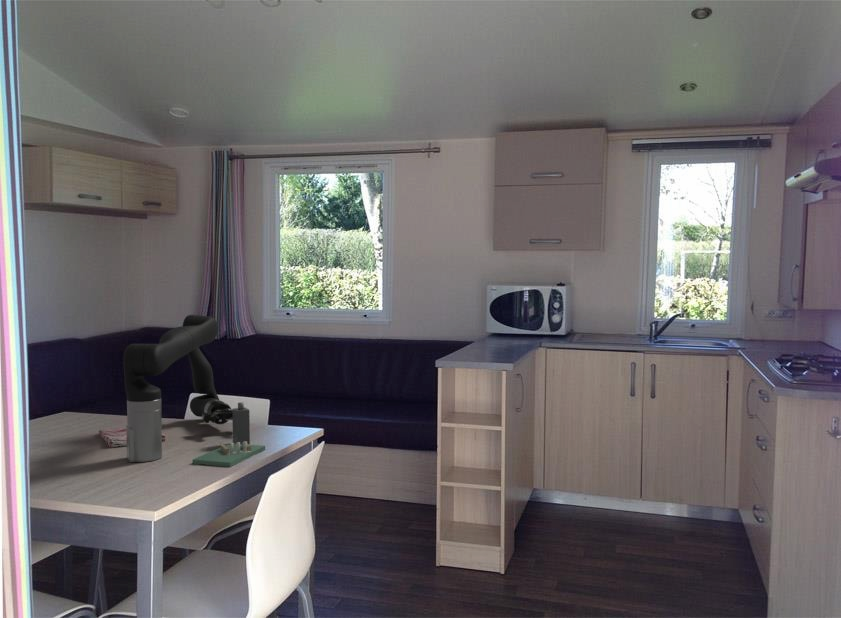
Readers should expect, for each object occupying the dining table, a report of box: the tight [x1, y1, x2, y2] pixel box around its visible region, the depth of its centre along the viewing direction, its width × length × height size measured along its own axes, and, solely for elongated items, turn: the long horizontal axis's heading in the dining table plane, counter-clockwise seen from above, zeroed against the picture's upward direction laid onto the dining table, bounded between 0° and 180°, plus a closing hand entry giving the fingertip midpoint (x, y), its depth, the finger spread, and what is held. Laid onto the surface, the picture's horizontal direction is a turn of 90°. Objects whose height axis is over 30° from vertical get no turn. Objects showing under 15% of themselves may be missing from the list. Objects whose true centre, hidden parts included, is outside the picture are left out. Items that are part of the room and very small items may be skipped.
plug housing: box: [231, 401, 251, 445], centre depth 219 cm, size 4×5×13 cm
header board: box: [191, 441, 266, 468], centre depth 203 cm, size 20×12×4 cm, turn 165°
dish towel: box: [97, 427, 167, 448], centre depth 227 cm, size 17×23×4 cm
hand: (231, 419), depth 227 cm, fingers open, 8 cm apart
